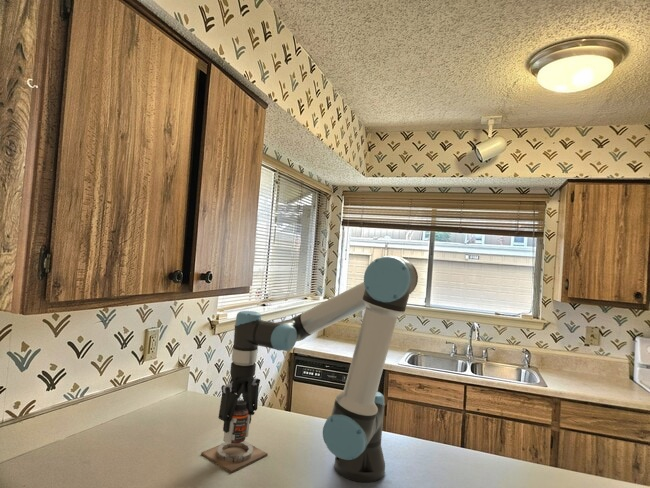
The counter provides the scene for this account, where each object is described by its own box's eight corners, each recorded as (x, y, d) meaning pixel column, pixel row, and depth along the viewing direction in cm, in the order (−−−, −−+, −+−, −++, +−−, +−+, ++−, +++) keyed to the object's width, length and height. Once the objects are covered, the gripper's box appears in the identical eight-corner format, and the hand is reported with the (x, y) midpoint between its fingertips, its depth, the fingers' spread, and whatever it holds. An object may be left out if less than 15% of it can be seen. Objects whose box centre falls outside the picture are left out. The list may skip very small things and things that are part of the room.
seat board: (267, 455, 117) (267, 453, 117) (231, 473, 106) (231, 471, 106) (237, 439, 125) (237, 437, 125) (201, 454, 114) (201, 452, 114)
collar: (259, 453, 117) (260, 449, 117) (232, 466, 108) (232, 462, 108) (237, 441, 123) (237, 437, 123) (209, 452, 115) (210, 448, 115)
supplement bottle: (234, 446, 112) (238, 407, 112) (221, 439, 115) (225, 401, 116) (249, 440, 117) (253, 402, 117) (237, 433, 120) (240, 397, 121)
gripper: (258, 355, 127) (251, 425, 126) (210, 364, 112) (202, 444, 111) (274, 360, 122) (266, 433, 121) (226, 370, 107) (218, 454, 106)
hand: (236, 438), depth 116 cm, fingers closed on supplement bottle, 6 cm apart
